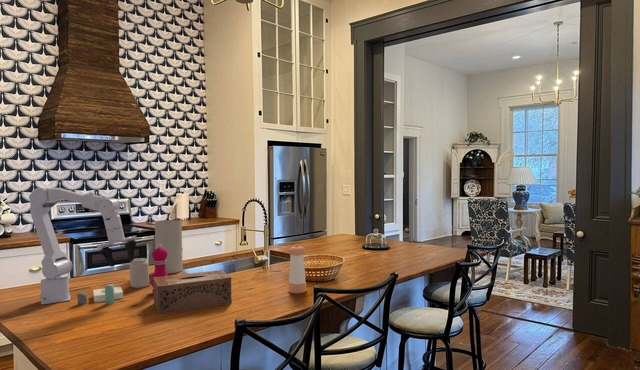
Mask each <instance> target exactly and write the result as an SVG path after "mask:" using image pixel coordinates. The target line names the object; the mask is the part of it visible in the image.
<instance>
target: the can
mask: <svg viewBox="0 0 640 370" xmlns="http://www.w3.org/2000/svg"><path fill="white" fill-rule="evenodd" d="M149 266H150V263H149V261H148V258H147V257H139V258H138V257H136V258H134V260H133V261H130V263H129V278H130V279H129V282H130V287H131V288H133V289H143V288H146V287H148V286H149V284H150V269H149V268H150V267H149Z"/></svg>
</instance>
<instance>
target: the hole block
mask: <svg viewBox="0 0 640 370" xmlns="http://www.w3.org/2000/svg"><path fill="white" fill-rule="evenodd" d="M92 292H93V296H92V297H93V303H101V302H105V287H104V288H97V289H93V291H92ZM120 299H124V291H123V289H122V287H121V286H114V301H115V300H120Z"/></svg>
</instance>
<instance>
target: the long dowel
mask: <svg viewBox="0 0 640 370" xmlns="http://www.w3.org/2000/svg"><path fill="white" fill-rule="evenodd" d="M114 285H115V284H109V283H108V284H105V285H104V288H105V301H104V303H105V306H110V305H114V304H115V300H114V287H115V286H114Z"/></svg>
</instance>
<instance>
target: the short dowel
mask: <svg viewBox="0 0 640 370" xmlns="http://www.w3.org/2000/svg"><path fill="white" fill-rule="evenodd" d="M87 293H88V292H79V293H77V296H76V297H77V306H85V305H87V304H88V300H87V297H88V296H87Z"/></svg>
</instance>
